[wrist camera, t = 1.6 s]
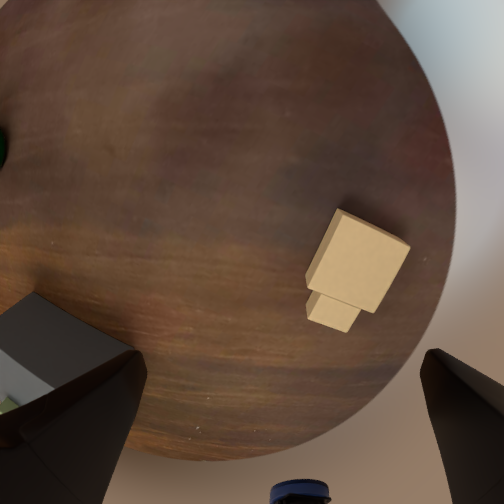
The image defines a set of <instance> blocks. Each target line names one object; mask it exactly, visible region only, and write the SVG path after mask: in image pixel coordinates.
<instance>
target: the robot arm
mask: <svg viewBox="0 0 504 504" xmlns="http://www.w3.org/2000/svg"><path fill="white" fill-rule="evenodd" d="M420 378H421V382H422V387H423V391H424V395H425V400H426V405H427V409H428V414H429V417H430V421H431V423H432V427H433V430H434V433H435V437H436V440H437V443H438V447H439V450H440V454H441V457H442V461H443V465H444V468H445V472H446V476H447V481H448V485H449V489H450V493H451V498H452V502H453V504H504V386H503V385H501V384H499V383H498V382H496V381H494V380H493V379H491V378H489V377H488V376H486V375H484V374H482V373H481V372H479V371H477V370H476V369H474V368H472V367H470V366H468V365H467V364H465V363H463V362H462V361H460V360H458V359H456V358H455V357H453V356H451V355H449V354H448V353H446V352H444V351H443V350H441V349H439V348H436V349H430V350H428V351H427V352H426V354H425V357H424V360H423V363H422V366H421V369H420ZM146 379H147V368H146V365H145V362H144V358H143V355H142V353H141V352H140V351H139V350H131V349H129V350H127V351H125V352H123V353H121V354H119V355H118V356H116V357H114V358H112V359H110V360H108V361H107V362H105V363H103V364H101V365H99V366H97V367H96V368H94V369H92V370H90V371H88V372H86V373H84V374H83V375H81V376H79V377H77V378H75V379H73V380H71V381H69V382H68V383H66V384H64V385H62V386H60V387H58V388H56V389H54V390H52V391H51V392H49V393H47V394H45V395H43V396H41V397H39V398H37V399H35V400H33V401H31V402H29V403H27V404H25V405H22V406H20V407H18V408H15V409H13V410H10V411H8V412H5V413H3V414H0V504H102V502H103V499H104V496H105V493H106V491H107V488H108V486H109V483H110V480H111V478H112V474H113V472H114V470H115V467H116V464H117V461H118V459H119V456H120V454H121V451H122V449H123V446H124V444H125V441H126V439H127V436H128V434H129V431H130V429H131V426H132V424H133V421H134V419H135V416H136V413H137V410H138V407H139V403H140V400H141V396H142V392H143V389H144V385H145V382H146ZM330 501H331V498H330V497H320V496H310V495H302V494H294V493H288V494H286V495H285V496H284V497H282V498H281V499H279V500H278V501H276V502H275V503H274V504H327V503H329V502H330Z"/></svg>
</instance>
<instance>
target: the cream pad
mask: <svg viewBox="0 0 504 504" xmlns="http://www.w3.org/2000/svg"><path fill="white" fill-rule="evenodd" d="M409 250H410V246H409V245H407V244H406V243H405V242H404V241H403V240H401V239H400V238H398V237H396V236H394V235H392V234H390V233H388V232H386V231H384V230H382V229H380V228H378V227H376V226H374V225H372V224H370V223H368V222H366V221H364V220H362V219H360V218H358V217H356V216H354V215H351V214H349V213H347V212H345V211H343V210H341V209H339V208H337V210H336V212H335V214H334V216H333V218H332V220H331V223H330V225H329V227H328V229H327V231H326V233H325V235H324V237H323V240H322V242H321V244H320V246H319V248H318V250H317V252H316V254H315V256H314V258H313V260H312V262H311V264H310V266H309V268H308V270H307V272H306V274H305V277H306V282H307V287H308V288H309V289H312V290H313V292H312V294H311V295H310V297H309V299H308V301H307V303H306V310H307V317H308V319H309V320H312V321H315V322H317V323H320V324H323V325H326V326H329V327H331V328H334V329H337V330H340V331H343V332H346V333H347V331H348V330H349V328H350V327H351V325H352V324H353V322H354V320H355V319H356V317H357V315H358V314H359V312H360V310H361V309H363V310H366V311H368V312H371V313H374V312H375V310H376V309H377V307H378V306H379V304H380V302H381V301H382V299H383V297H384V295H385V294H386V292H387V290H388V289H389V287H390V285H391V283H392V282H393V280H394V278H395V276H396V274H397V273H398V271H399V269H400V267H401V265H402V263H403V261H404V259H405V258H406V256H407V254H408V252H409Z"/></svg>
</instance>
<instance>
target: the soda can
mask: <svg viewBox="0 0 504 504" xmlns="http://www.w3.org/2000/svg"><path fill="white" fill-rule="evenodd" d="M5 151H6V143H5V137H4V134H3V132H2V130H1V129H0V167H1V165H2V163H3V161H4V157H5Z"/></svg>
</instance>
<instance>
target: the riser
mask: <svg viewBox="0 0 504 504" xmlns="http://www.w3.org/2000/svg"><path fill="white" fill-rule="evenodd" d="M129 349H131V350H134V348H133V347H131V346H129V345H127V344H124V343H122V342H120V341H118V340H116V339H114V338H113V337H111V336H109V335H107V334H105V333H103V332H101V331H99V330H97V329H95V328H93V327H92V326H90V325H88V324H86V323H84V322H83V321H81V320H79V319H77V318H75V317H74V316H72V315H70V314H69V313H67V312H65V311H63V310H62V309H60V308H58V307H57V306H55V305H53V304H52V303H50V302H49V301H47V300H45V299H44V298H42V297H41V296H39V295H38V294H36V293H35V292H32V293H30V294H29V295H27V296H26V297H25V298H23V299H22V300H20V301H19V302H18V303H16V304H15V305H14V306H12V307H11V308H9V309H8V310H7V311H5V312H4V313H3V314H1V315H0V401H1V403H2V402H3V400H4V399H5V398H6V397H8V398H9V399H10V400H12V401H13V402H14V403H16V404H17V405H18V406H19V407H20V406H22V405H25V404H27V403H29V402H31V401H33V400H35V399H37V398H39V397H41V396H43V395H45V394H47V393H49V392H51V391H52V390H54V389H56V388H58V387H60V386H62V385H64V384H66V383H68V382H69V381H71V380H73V379H75V378H77V377H79V376H81V375H83V374H84V373H86V372H88V371H90V370H92V369H94V368H96V367H97V366H99V365H101V364H103V363H105V362H107V361H108V360H110V359H112V358H114V357H116V356H118V355H119V354H121V353H123V352H125V351H127V350H129Z"/></svg>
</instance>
